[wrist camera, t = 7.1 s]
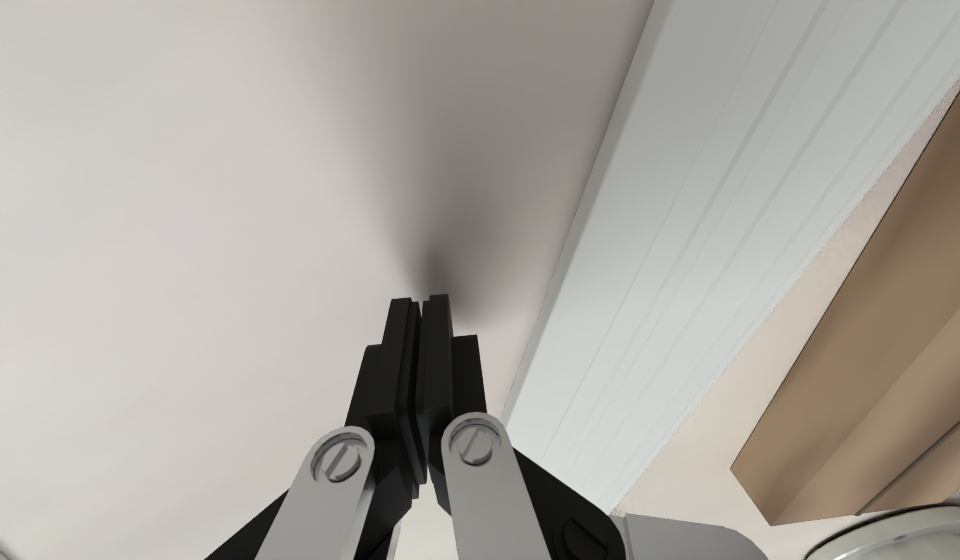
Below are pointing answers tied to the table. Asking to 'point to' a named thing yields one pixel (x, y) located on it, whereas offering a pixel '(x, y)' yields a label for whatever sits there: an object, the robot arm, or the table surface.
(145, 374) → the table surface
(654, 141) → the baseboard
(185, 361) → the table surface
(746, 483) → the plank row
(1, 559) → the baseboard molding
